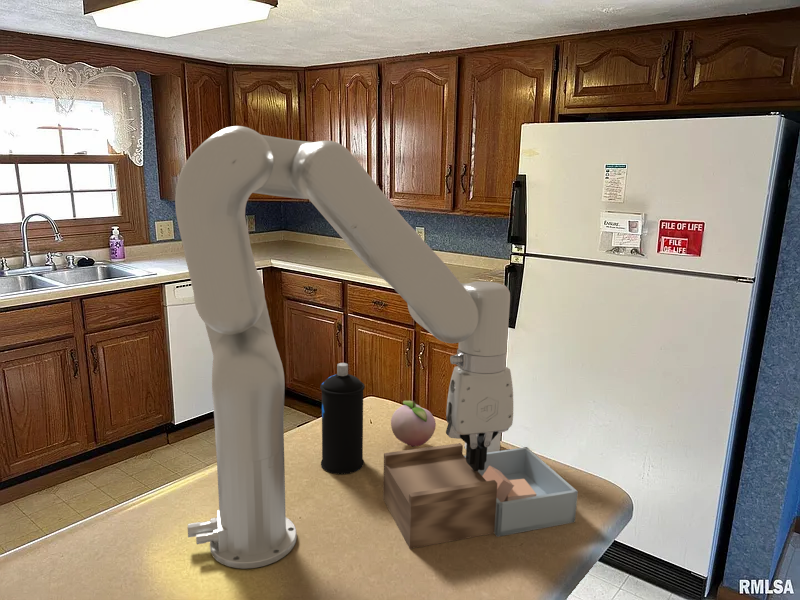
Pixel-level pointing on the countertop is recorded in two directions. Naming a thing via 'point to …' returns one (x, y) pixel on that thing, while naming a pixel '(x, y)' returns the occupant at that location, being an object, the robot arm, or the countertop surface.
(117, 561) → the countertop surface
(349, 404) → the aerosol can
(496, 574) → the countertop surface
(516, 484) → the tile
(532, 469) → the bin
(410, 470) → the brown wooden box
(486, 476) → the tile
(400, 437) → the decorative fruit
